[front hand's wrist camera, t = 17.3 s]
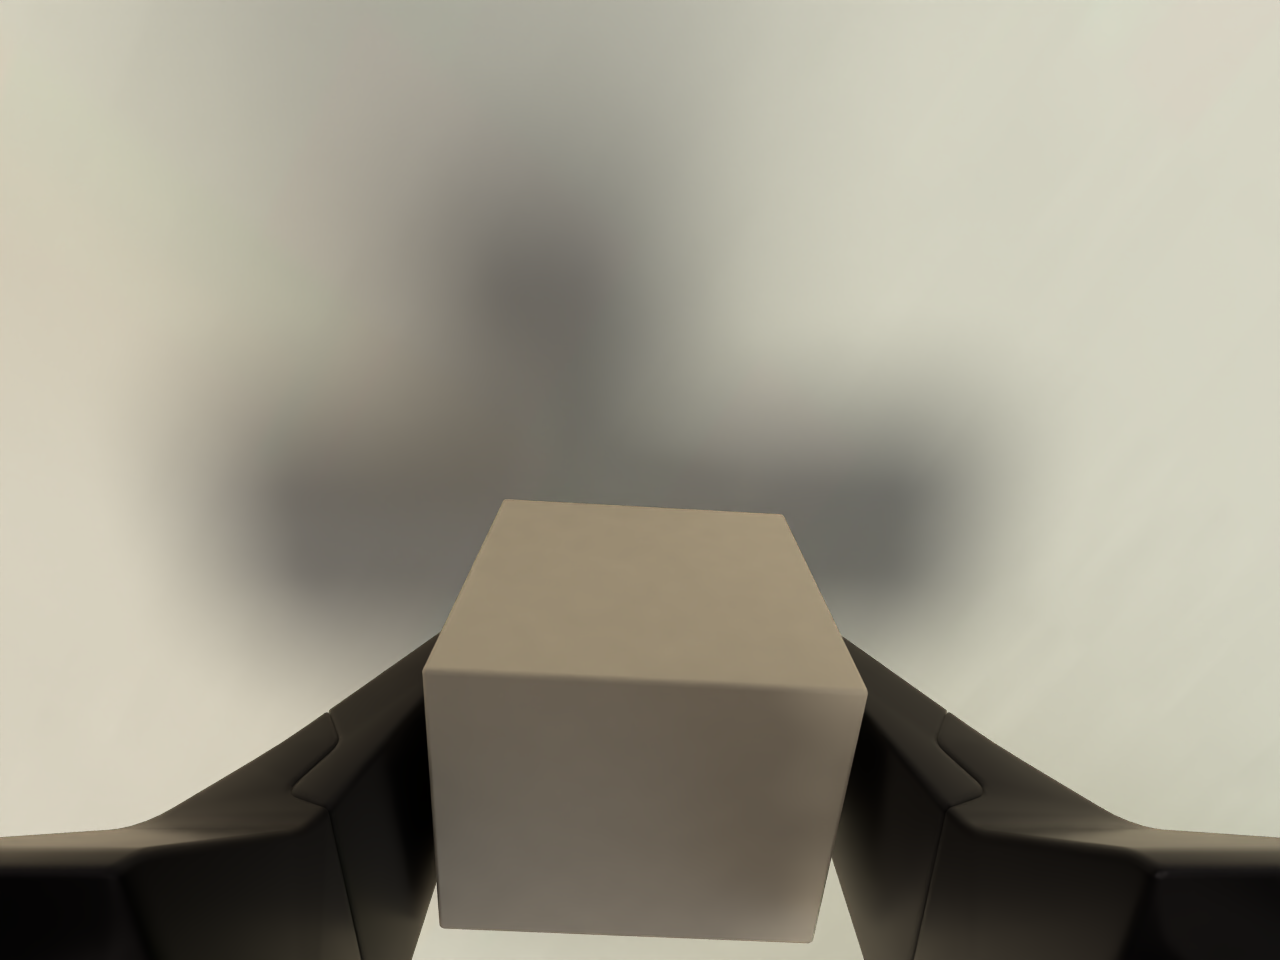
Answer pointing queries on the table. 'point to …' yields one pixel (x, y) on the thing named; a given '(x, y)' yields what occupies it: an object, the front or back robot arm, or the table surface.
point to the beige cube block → (638, 727)
